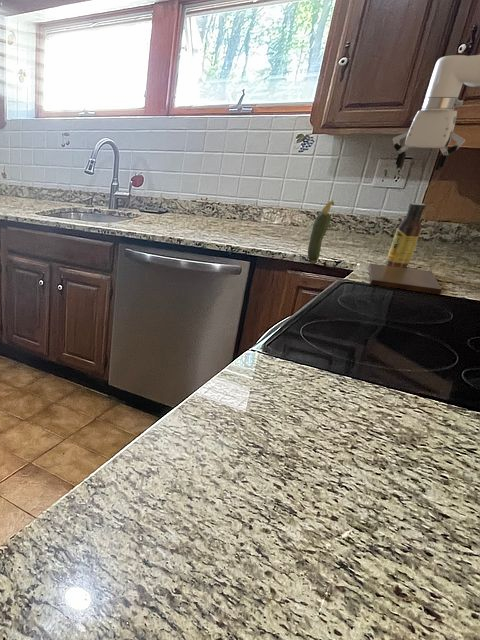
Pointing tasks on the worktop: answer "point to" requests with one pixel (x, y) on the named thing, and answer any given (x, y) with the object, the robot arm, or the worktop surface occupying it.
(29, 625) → the worktop surface
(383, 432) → the worktop surface
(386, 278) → the board
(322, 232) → the vegetable
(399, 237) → the sauce bottle
